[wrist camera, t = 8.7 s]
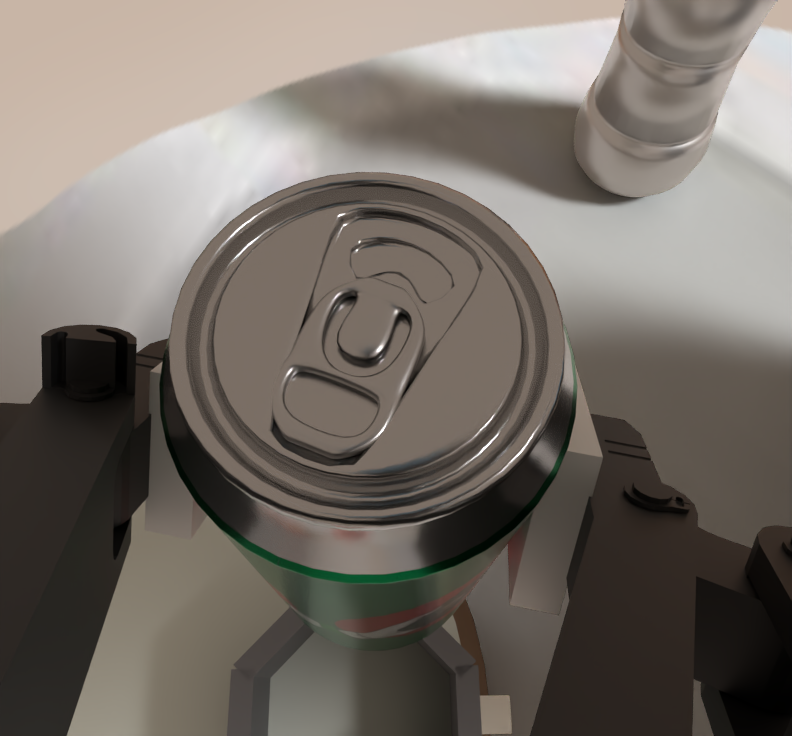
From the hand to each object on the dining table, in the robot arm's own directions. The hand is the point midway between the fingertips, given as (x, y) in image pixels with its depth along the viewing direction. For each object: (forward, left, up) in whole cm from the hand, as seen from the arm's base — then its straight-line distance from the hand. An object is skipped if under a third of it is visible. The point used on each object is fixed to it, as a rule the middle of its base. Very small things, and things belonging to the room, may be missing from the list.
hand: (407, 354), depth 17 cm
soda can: (+3, +3, -4) cm, 5 cm away
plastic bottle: (-20, -10, -17) cm, 28 cm away
